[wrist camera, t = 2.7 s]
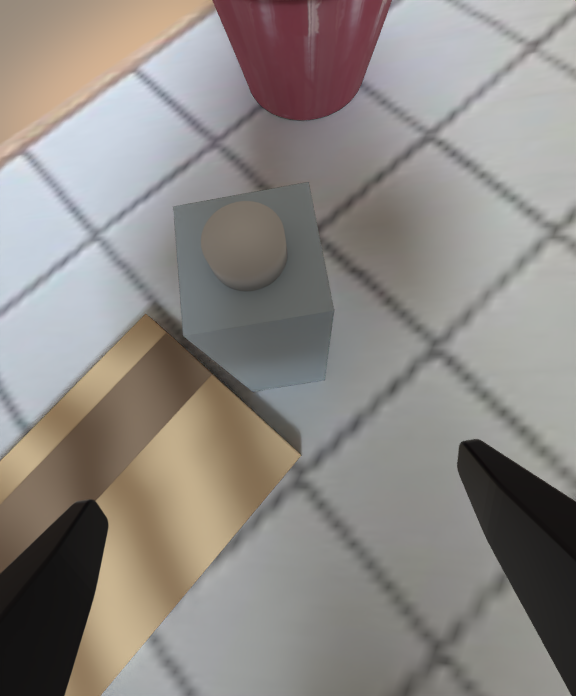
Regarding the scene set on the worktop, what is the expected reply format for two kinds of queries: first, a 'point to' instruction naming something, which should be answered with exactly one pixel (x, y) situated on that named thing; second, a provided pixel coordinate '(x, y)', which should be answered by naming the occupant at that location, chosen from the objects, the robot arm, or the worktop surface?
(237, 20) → the plant pot
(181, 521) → the striped wooden cutting board
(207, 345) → the tall gray juice carton
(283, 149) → the worktop surface
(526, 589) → the robot arm
